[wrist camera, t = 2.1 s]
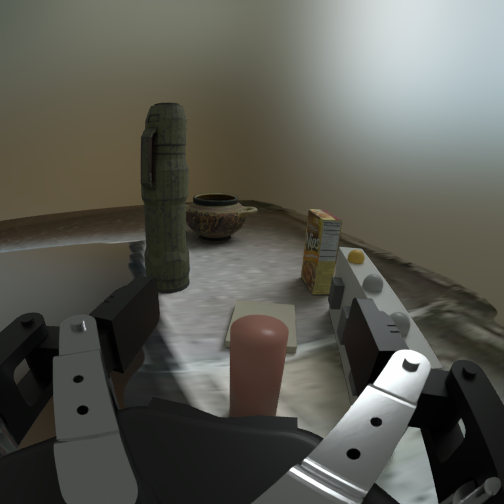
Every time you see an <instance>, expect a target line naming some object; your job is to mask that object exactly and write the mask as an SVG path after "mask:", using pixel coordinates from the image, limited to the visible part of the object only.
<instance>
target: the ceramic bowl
mask: <svg viewBox="0 0 504 504" xmlns="http://www.w3.org/2000/svg"><path fill="white" fill-rule="evenodd" d="M257 211H258V210H257V209H256V208H254V207H243V206H242V205H241V204H240V203H238V197H237V196H236V195H233V194H226V193H203V194H198V195H195V196H194V198H193V202H192V203H191V204H190V205H186V222H187V224H188V226H189V227H190V228H191V229H192V230H193V231H194V232H196V233H197V234H199V235H200V236H199V239H200V240H202V241H205V242H209V243H222V242H226V241H229V240H230V239H231V236H230V235H232V234H234V233H235V232H237V231H238V230H239V229H240V228H241V227H242V225H243V224H244V222H245V219H246V216H247V215H251V214H255V213H256V212H257Z"/></svg>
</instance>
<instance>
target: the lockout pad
mask: <svg viewBox="0 0 504 504" xmlns="http://www.w3.org/2000/svg"><path fill="white" fill-rule="evenodd" d="M248 315H267V316H271V317H274V318H277V319H279V320H281V321H282V322H283V323H284V324H285V325H286V326H287V327H288V330H289V335H288V342H287V349H286V353H296V349H297V341H296V325H295V309H294V305H289V304H276V303H263V302H252V301H240V300H237V302H236V305H235V309H234V312H233V316H232V319H231V323H230V326H229V330H228V333H227V337H226V340H225V347H227V348H230V328H231V325H232V323H233V322H234V321H236V320H237V319H239V318H241V317H244V316H248Z"/></svg>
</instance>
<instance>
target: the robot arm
mask: <svg viewBox="0 0 504 504" xmlns="http://www.w3.org/2000/svg"><path fill="white" fill-rule="evenodd" d="M159 316H160V310H159V300H158V288H157V281H156V279H155V278H150V277H143V276H137V277H136V278H135V279H134V280H133V281H132V282H130V284H128V285H127V286H124V287H122V288H119V289H117V290H115V291H114V292H113V293H112V294H111V295H110V297H108V298H107V299H106V300H104V302H102V303H101V304H100V305H99V306H98V307H97V308H96V309H95V310H94V311H93V312H92V313H90V314H89V315H82V314H80V315H74V316H71V317H69V318H67V319H65V320H64V321H63V322H62V323H61V325H60V327H55V326H46V324H45V321H44V318H43V316H42V315H41V314H39V313H27V314H24V315H21V316H20V317H18V318H17V319H15V320H14V321H13V322H12V323H11V324H10V325H8V326H7V327H6V328H5V329H4V330H3V331H2V332H0V504H400V503H398V502H397V501H396V500H395V499H394V498H392V497H391V496H390V495H389V494H387V493H386V492H385V491H384V490H383V489H382V488H380V487H379V486H378V485H377V484H376V483H374V482H375V481H376V479H377V478H378V476H379V475H380V473H381V471H382V470H383V468H384V467H385V465H386V463H387V462H388V460H389V458H390V457H391V455H392V453H393V451H394V450H395V448H396V446H397V444H398V442H399V440H400V439H401V437H402V435H403V433H404V431H405V429H406V427H407V426H410V427H417V428H420V430H421V433H422V436H423V440H424V444H425V447H426V451H427V455H428V459H429V462H430V466H431V471H432V475H433V479H434V484H435V488H436V493H437V498H438V503H439V504H504V405H503V403H502V402H501V400H500V398H499V396H498V395H497V393H496V391H495V389H494V388H493V386H492V384H491V383H490V381H489V379H488V378H487V376H486V375H485V373H484V371H483V370H482V369H481V368H480V367H479V366H478V365H477V364H475V363H473V362H471V361H467V360H458V361H456V362H454V363H453V365H452V367H451V369H450V371H443V370H437V369H432V368H431V365H430V362H429V361H428V359H427V358H426V357H425V356H423V355H422V354H420V353H418V352H416V351H412V350H409V348H408V346H407V344H406V342H405V340H404V339H403V337H402V335H401V333H399V330H398V328H397V327H396V324H395V323H394V321H393V319H392V318H391V317H390V316H389V315H388V314H386V313H385V312H384V311H379V310H378V308H377V306H376V304H375V302H374V300H373V299H372V298H354V299H353V301H352V304H351V308H350V312H349V317H348V321H347V325H346V329H345V334H344V345H345V349H346V353H347V357H348V360H349V364H350V368H351V372H352V376H353V380H354V384H355V388H356V392H357V396H358V399H357V400H356V401H355V403H354V404H353V405H352V406H351V408H350V409H349V410H348V411H347V413H346V414H345V415H344V416H343V418H342V419H341V420H340V421H339V422H338V423H337V425H336V426H335V427H334V428H333V429H332V430H331V432H330V433H329V434H328V435H327V436H326V437H325V438H322V437H320V436H318V435H316V434H314V433H312V432H309V431H306V430H303V429H300V428H297V418H294V417H278V416H265V415H256V416H244V417H228V418H222V417H217V416H215V415H212V414H209V413H207V412H204V411H201V410H199V409H196V408H194V407H191V406H189V405H187V404H182V403H177V402H173V401H168V400H164V399H159V398H155V397H153V398H152V400H151V402H150V404H149V406H137V407H129V408H125V409H121V410H120V409H119V405H118V402H117V398H116V395H115V391H114V387H113V384H112V380H111V377H110V373H111V372H112V371H117V372H120V373H123V374H124V373H125V371H126V370H127V368H128V367H129V365H130V364H131V363H132V361H133V360H134V358H135V357H136V355H137V354H138V352H139V351H140V349H141V348H142V346H143V345H144V343H145V342H146V340H147V339H148V337H149V336H150V335H151V333H152V332H153V330H154V329H155V327H156V326H157V324H158V321H159ZM24 358H25V359H26V361H27V364H28V366H29V368H30V370H29V371H28V373H27V374H26V375H25V376H24V377H23V378H22V379H21V381H20V382H19V383H18V384H17V385H16V383H15V381H14V376H13V375H14V370H15V368H16V367H17V366H18V365H19V364H20V363H21V362H22V361H23V359H24ZM53 395H54V412H55V425H56V434H57V436H55V437H53V438H50V439H47V440H45V441H42V442H40V443H37V444H34V445H31V446H28V447H26V448H22V449H20V450H18V446H19V444H20V443H21V441H22V440H23V438H24V437H25V435H26V434H27V432H28V430H29V429H30V427H31V426H32V424H33V423H34V422H35V420H36V418H37V417H38V416H39V414H40V413H41V411H42V410H43V408H44V407H45V406H46V404H47V403H48V401H49V400H50V398H51V397H52V396H53ZM461 418H462V420H463V423H464V425H465V429H466V433H465V438H464V437H463V434H462V432H461V429H460V426H459V424H458V421H459V420H460V419H461Z"/></svg>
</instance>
